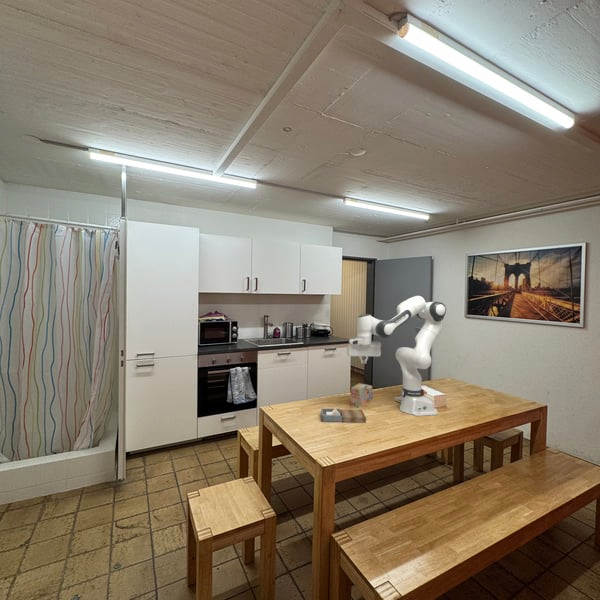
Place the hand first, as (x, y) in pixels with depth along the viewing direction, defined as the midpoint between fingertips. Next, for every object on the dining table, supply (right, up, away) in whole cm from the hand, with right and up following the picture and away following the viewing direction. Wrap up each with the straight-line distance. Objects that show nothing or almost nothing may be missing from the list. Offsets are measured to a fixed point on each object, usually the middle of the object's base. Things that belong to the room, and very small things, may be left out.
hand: (363, 363), depth 189 cm
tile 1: (-21, -28, -7) cm, 36 cm away
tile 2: (-18, -29, -7) cm, 35 cm away
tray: (-20, -31, -7) cm, 38 cm away
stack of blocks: (+3, -31, +20) cm, 37 cm away
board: (-8, -31, -7) cm, 33 cm away
